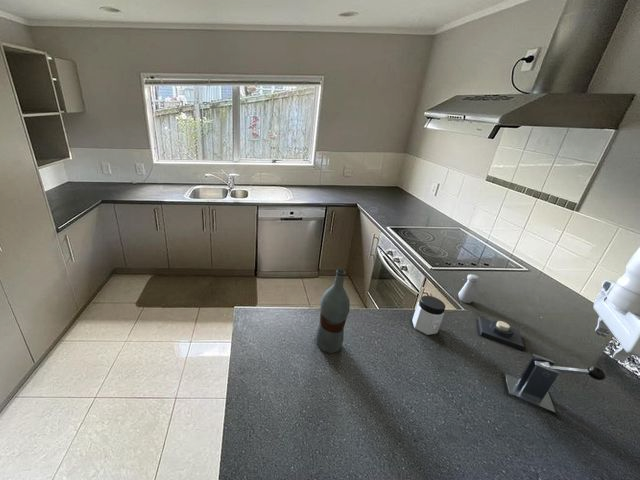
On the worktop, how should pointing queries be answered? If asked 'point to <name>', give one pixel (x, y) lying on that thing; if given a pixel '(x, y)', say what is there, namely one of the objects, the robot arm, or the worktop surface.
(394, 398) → the worktop surface
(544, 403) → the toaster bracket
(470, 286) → the salt shaker
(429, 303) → the jar
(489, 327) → the button housing
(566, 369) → the toaster lever
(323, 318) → the bottle
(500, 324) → the button
